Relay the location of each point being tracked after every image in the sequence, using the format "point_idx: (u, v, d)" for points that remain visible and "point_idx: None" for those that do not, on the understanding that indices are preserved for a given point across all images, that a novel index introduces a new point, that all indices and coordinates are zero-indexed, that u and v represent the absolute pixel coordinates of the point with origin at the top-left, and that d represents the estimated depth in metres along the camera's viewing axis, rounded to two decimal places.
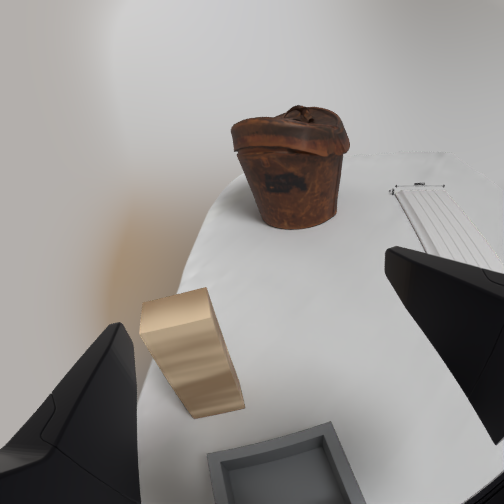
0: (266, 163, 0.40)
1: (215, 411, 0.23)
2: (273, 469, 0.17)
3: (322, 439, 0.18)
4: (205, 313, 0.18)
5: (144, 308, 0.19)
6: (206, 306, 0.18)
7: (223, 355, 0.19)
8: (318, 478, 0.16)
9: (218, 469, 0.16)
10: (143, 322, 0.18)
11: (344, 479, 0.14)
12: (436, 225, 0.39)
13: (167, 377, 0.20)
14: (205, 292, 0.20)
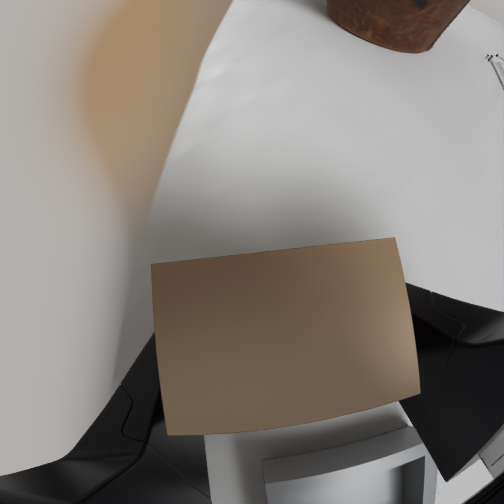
0: None
1: None
2: None
3: None
4: (404, 371, 0.05)
5: (163, 300, 0.05)
6: (407, 342, 0.05)
7: None
8: (387, 484, 0.12)
9: None
10: (172, 382, 0.05)
11: None
12: None
13: None
14: (397, 266, 0.05)
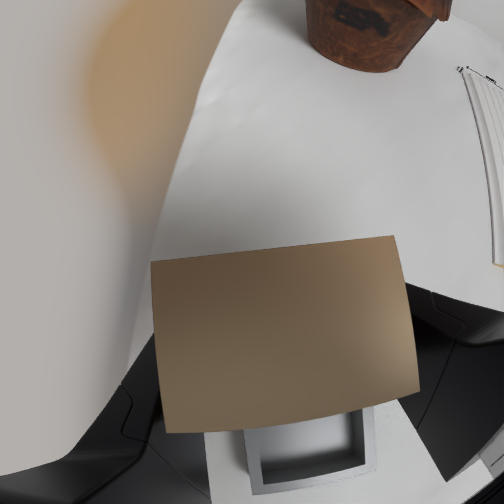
0: None
1: None
2: None
3: None
4: (404, 369, 0.05)
5: (162, 297, 0.05)
6: (406, 340, 0.05)
7: None
8: (338, 421, 0.19)
9: None
10: (171, 379, 0.05)
11: (366, 441, 0.17)
12: (501, 143, 0.27)
13: None
14: (396, 264, 0.05)
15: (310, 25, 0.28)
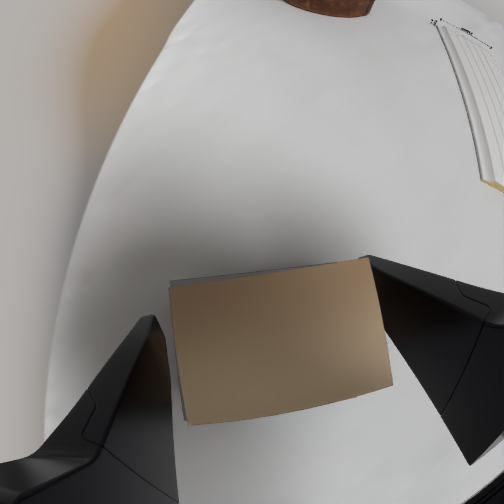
0: None
1: None
2: None
3: None
4: (378, 367, 0.06)
5: (180, 316, 0.06)
6: (380, 343, 0.06)
7: None
8: None
9: None
10: (191, 381, 0.06)
11: None
12: (479, 79, 0.25)
13: None
14: (370, 281, 0.07)
15: None
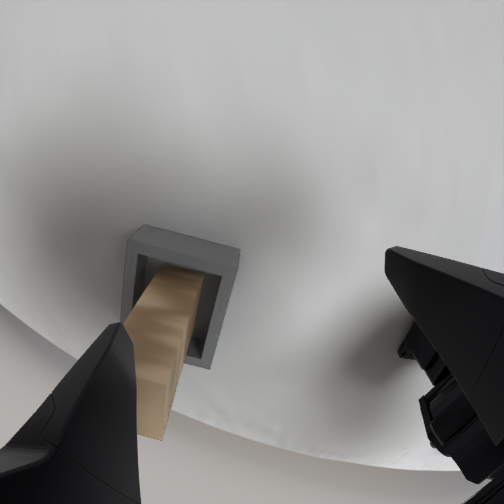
0: None
1: (197, 305, 0.22)
2: None
3: None
4: (154, 386, 0.11)
5: None
6: (141, 380, 0.11)
7: (182, 336, 0.15)
8: None
9: None
10: (144, 433, 0.13)
11: (193, 266, 0.19)
12: None
13: (178, 380, 0.17)
14: None
15: None
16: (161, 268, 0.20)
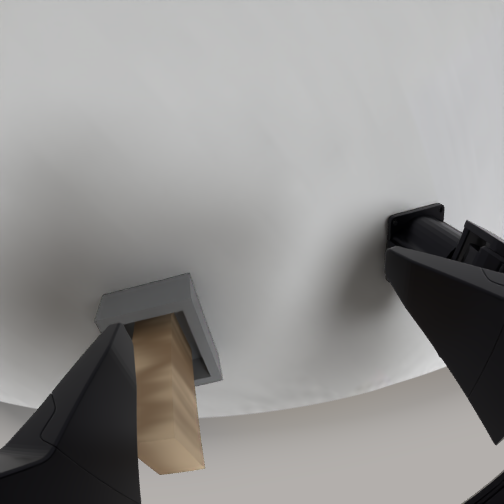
0: None
1: (182, 335, 0.23)
2: None
3: None
4: (168, 441, 0.13)
5: (168, 472, 0.14)
6: (157, 442, 0.13)
7: (172, 385, 0.16)
8: None
9: None
10: (188, 469, 0.14)
11: (156, 315, 0.19)
12: None
13: (196, 410, 0.19)
14: None
15: None
16: (135, 324, 0.21)
